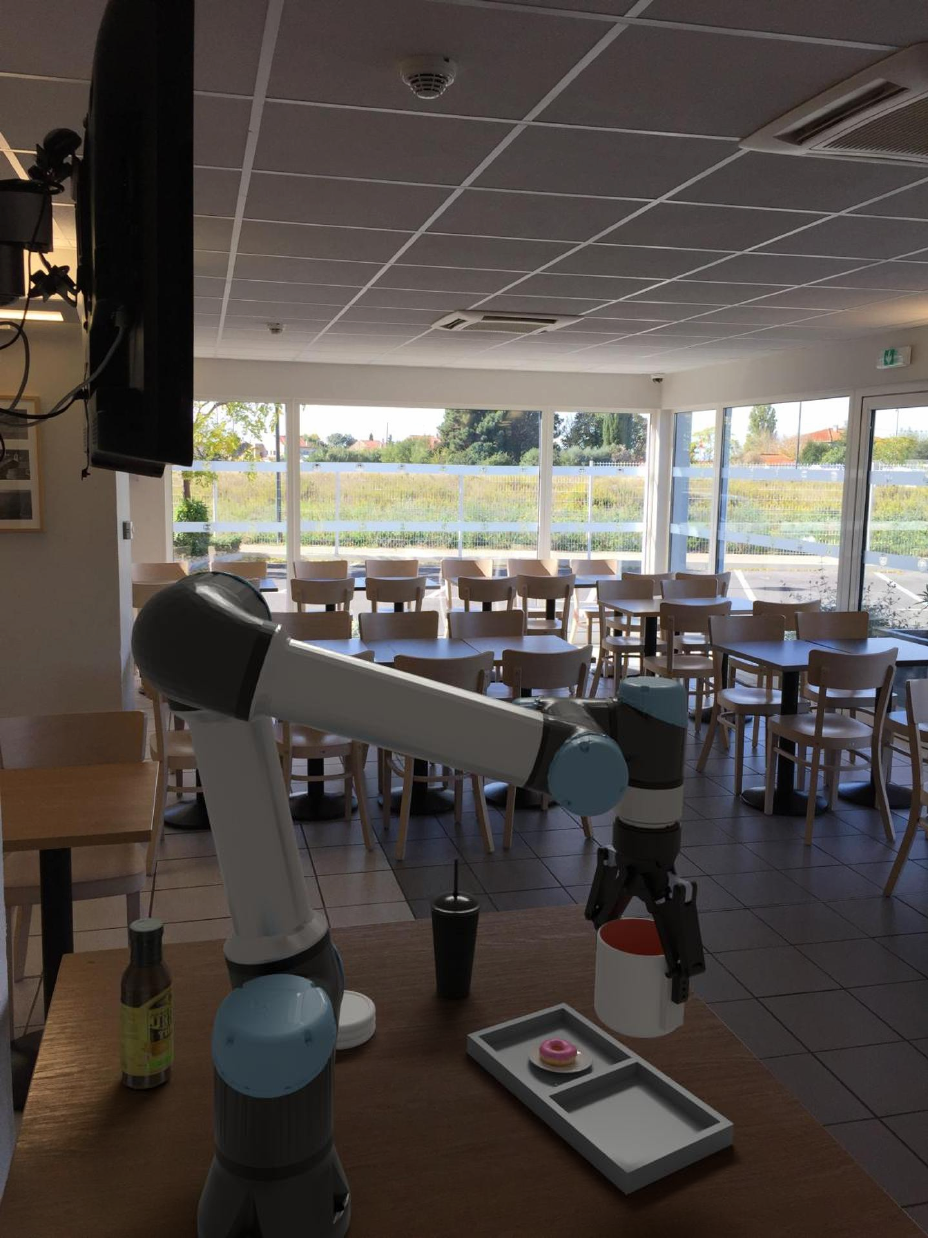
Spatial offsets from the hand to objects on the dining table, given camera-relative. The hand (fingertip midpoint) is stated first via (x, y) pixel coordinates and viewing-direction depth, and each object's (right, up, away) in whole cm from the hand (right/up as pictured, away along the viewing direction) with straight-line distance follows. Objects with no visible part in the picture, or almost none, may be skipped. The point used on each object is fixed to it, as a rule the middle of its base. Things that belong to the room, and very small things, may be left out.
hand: (638, 1005), depth 116 cm
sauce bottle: (-59, -13, +10) cm, 61 cm away
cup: (0, -2, 0) cm, 2 cm away
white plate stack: (-37, -12, +22) cm, 45 cm away
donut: (-8, -13, +13) cm, 20 cm away
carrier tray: (-4, -14, +8) cm, 17 cm away
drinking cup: (-21, -11, +33) cm, 41 cm away
